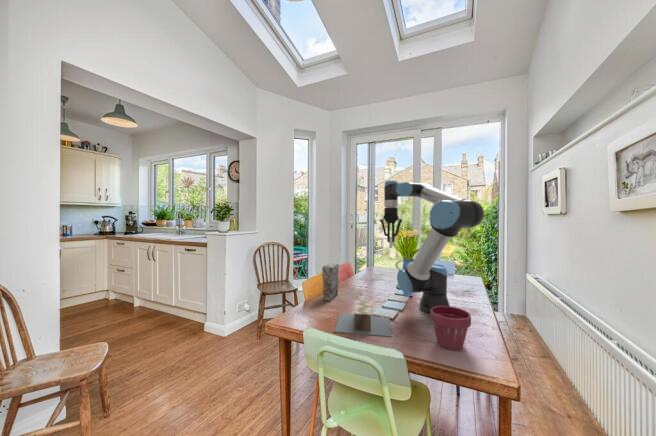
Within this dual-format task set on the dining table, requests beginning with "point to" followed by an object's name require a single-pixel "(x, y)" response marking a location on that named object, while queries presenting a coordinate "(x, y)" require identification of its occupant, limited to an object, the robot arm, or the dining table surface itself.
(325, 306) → the dining table surface
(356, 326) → the birch block
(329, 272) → the stone block
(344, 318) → the slate mat
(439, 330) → the plant pot
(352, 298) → the dining table surface
